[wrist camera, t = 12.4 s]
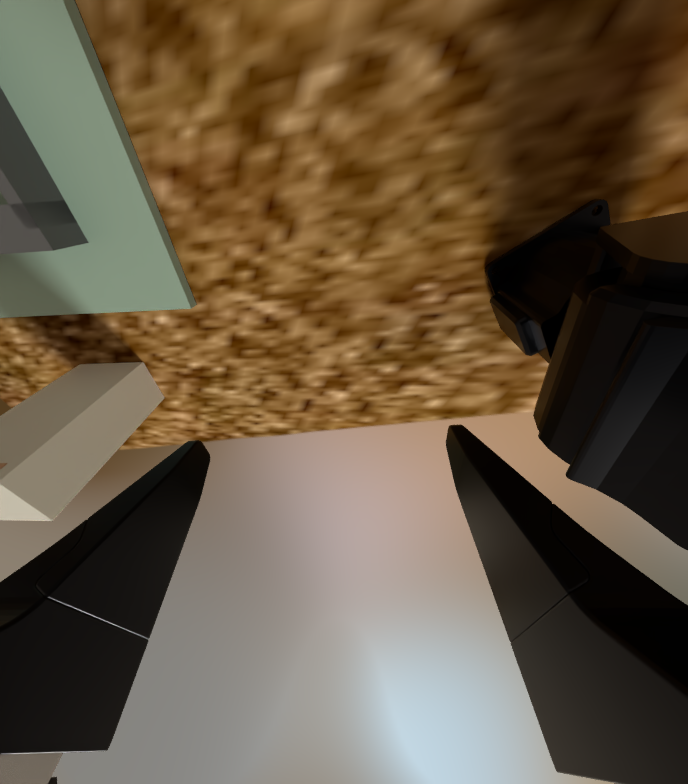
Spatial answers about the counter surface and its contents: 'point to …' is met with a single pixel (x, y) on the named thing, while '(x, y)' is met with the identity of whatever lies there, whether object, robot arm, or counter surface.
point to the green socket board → (72, 180)
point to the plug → (69, 435)
